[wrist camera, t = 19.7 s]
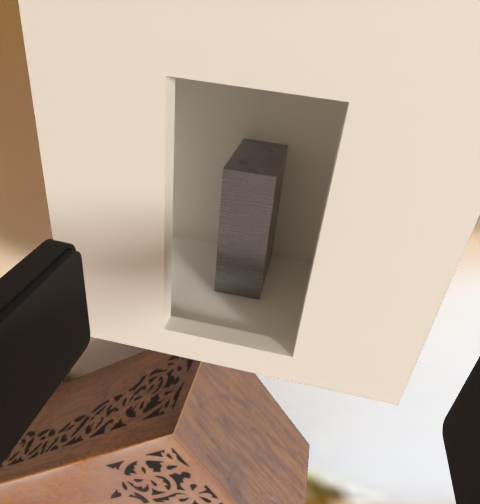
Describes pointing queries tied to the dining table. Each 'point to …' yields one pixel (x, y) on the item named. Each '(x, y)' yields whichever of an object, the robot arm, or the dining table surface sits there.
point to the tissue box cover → (159, 440)
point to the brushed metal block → (248, 216)
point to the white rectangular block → (294, 181)
